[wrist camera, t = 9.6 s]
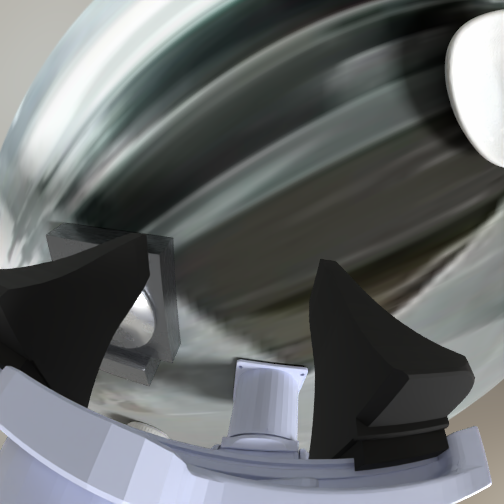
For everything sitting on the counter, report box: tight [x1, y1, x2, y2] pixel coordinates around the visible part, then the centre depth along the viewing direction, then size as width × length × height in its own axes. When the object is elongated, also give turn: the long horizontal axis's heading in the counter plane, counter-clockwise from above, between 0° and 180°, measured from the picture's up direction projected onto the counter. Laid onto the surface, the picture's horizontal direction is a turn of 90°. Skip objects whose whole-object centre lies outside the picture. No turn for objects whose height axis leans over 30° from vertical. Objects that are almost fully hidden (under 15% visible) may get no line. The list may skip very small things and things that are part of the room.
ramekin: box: [127, 421, 169, 439], centre depth 43 cm, size 11×11×5 cm
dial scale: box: [46, 223, 181, 386], centre depth 25 cm, size 16×13×5 cm
